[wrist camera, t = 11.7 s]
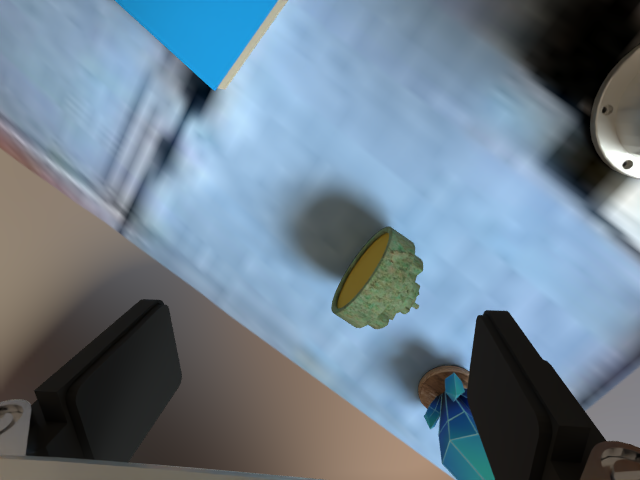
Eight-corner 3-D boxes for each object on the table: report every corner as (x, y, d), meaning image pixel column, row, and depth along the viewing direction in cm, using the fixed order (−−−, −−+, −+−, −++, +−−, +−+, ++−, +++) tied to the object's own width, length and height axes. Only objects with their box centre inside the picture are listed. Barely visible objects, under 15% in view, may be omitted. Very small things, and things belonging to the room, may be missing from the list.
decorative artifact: (388, 214, 38) (396, 248, 29) (441, 251, 39) (465, 296, 30) (335, 282, 42) (326, 332, 32) (384, 315, 42) (390, 373, 33)
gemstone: (495, 379, 44) (541, 473, 32) (448, 422, 47) (474, 521, 35) (446, 348, 43) (476, 432, 32) (401, 393, 46) (413, 485, 35)
